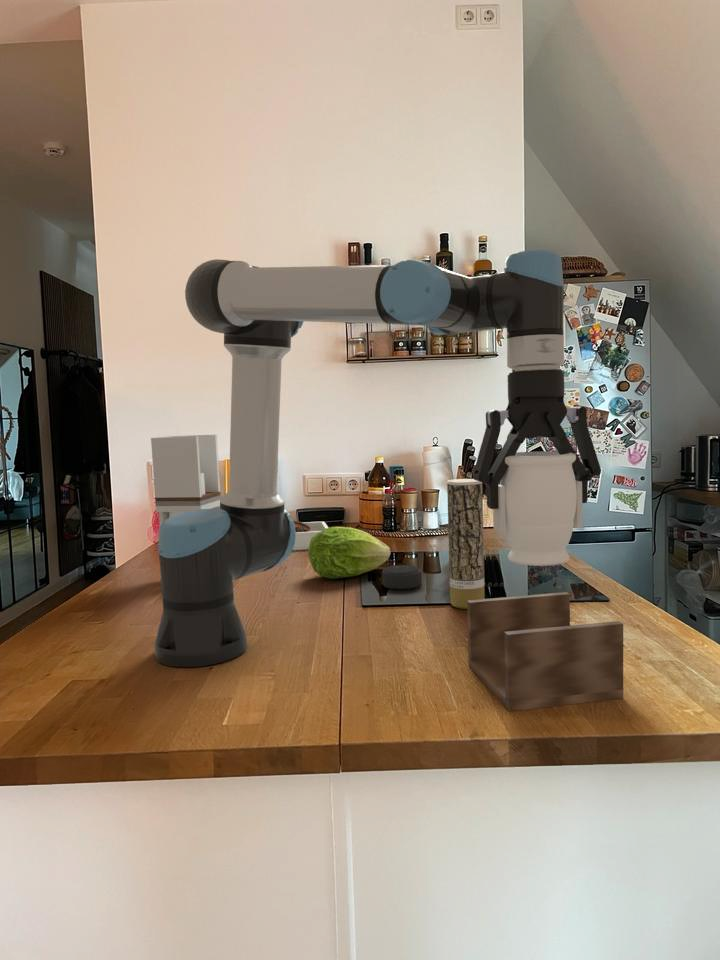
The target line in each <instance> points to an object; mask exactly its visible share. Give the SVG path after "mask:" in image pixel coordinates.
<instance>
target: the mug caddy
mask: <svg viewBox="0 0 720 960" xmlns="http://www.w3.org/2000/svg"><path fill="white" fill-rule="evenodd" d="M303 523H304V524H306V525H308V526H309V527H310V530H309V532H297V533H296V538H295V544H294V547H293V549H292V552H293V551H304V550H305V551H306V550H307V551H308V550H309V545H310V541H311V538H312V537H314V536H315V535H316V534H318V533H319V532H321V531H323V530H325V529H327V528H329V526H328V525H327V523H326V522H325V520H324V521H323V520H322V521H310V522H308V521H307V522H303Z"/></svg>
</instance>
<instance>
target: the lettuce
mask: <svg viewBox="0 0 720 960" xmlns="http://www.w3.org/2000/svg"><path fill="white" fill-rule="evenodd" d="M307 552H308V558H309V563H310V564H311V568H312V570H313V572H314V573H316V574H318V576H321V577H323V578H326V579H332V580H335V579H345V578H353V577H356V576H360V575H361V574H364V573H365V574H366V573H368V572H370V571H373V570H375V569H377V568H378V567H380V566H381V565H382V564H384V563H386V562H387V560H389V559H390V555H391V548H390V547H389V546H388V545H387V544H386V543H384V542H383V541H381V540H379V539H378V538H377V537H375V536H373V535H372V534H370V533H368V532H366V531H364V530H362V529H357V528H355V527H354V528H353V527H349V526H331V527H328V528H327V529H325V530H323V531H321V532H319V533H318V534H316V535H315V536H314V537H312V538H311V541H310V545H309V549H307Z"/></svg>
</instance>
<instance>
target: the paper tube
mask: <svg viewBox="0 0 720 960" xmlns="http://www.w3.org/2000/svg"><path fill="white" fill-rule="evenodd" d="M446 485H447V487H446V488H447V489H446V491H447V492H446V493H447V522H448V523H447V531H448V565H449V567H448V568H449V571H448V572H449V596H450V597H449V599H450V600H449V601H450V604H451V605H452V606H453V607H454V608H457V609H462V610H467V601H468V600H480V599H486V598H485V557H484V556H485V551H484V550H485V549H484V508H483V507H484V505H483V503H484V501H483V500H484V499H483V482H479V481H476V480H474V479H473V478H456V479H455V478H454V479H449V480H447V483H446Z"/></svg>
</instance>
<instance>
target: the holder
mask: <svg viewBox="0 0 720 960" xmlns="http://www.w3.org/2000/svg"><path fill="white" fill-rule="evenodd" d="M570 595H571V594H570V593H569V592H567V591H566V592H565V591H564V592H563V591H562V592H550V593H540V594H539V593H537V594H528V595H518V596H517V595H515V596H506V597H503V596H502V597H494V598H493V597H492V598H485V599H480V600H468V601H467V609H466V610H467V611H466V612H467V613H466V615H467V644H468V646H467V648H468V649H467V653H468V667H469V668H470V669H471V670H472V671H473V672H474V674H475V675H476V676H477V677H478V679H480V680H481V682H482V683H483V684H484V685H485V686H486V687H487V688H488V689H489V690H490V691H491V692H492V694H493V695H494V696H495V698H497V699H498V700H499V702H500V703H501V704H502V705H503V706H504V708H505V709H506V710H507V711H508V712H513V711H514V712H515V711H516V712H517V711H524V710H530V709H531V710H532V709H539V708H548V707H550V708H551V707H558V706H568V705H575V704H584V703H594V702H601V701H602V702H603V701H610V700H618V699H619V700H620V699H624V623H622V622H621V621H619V620H617V621H616V620H615V621H607V622H596V623H595V622H594V623H583V624H574V625H571V604H570V603H571V602H570V601H571V597H570Z"/></svg>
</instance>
